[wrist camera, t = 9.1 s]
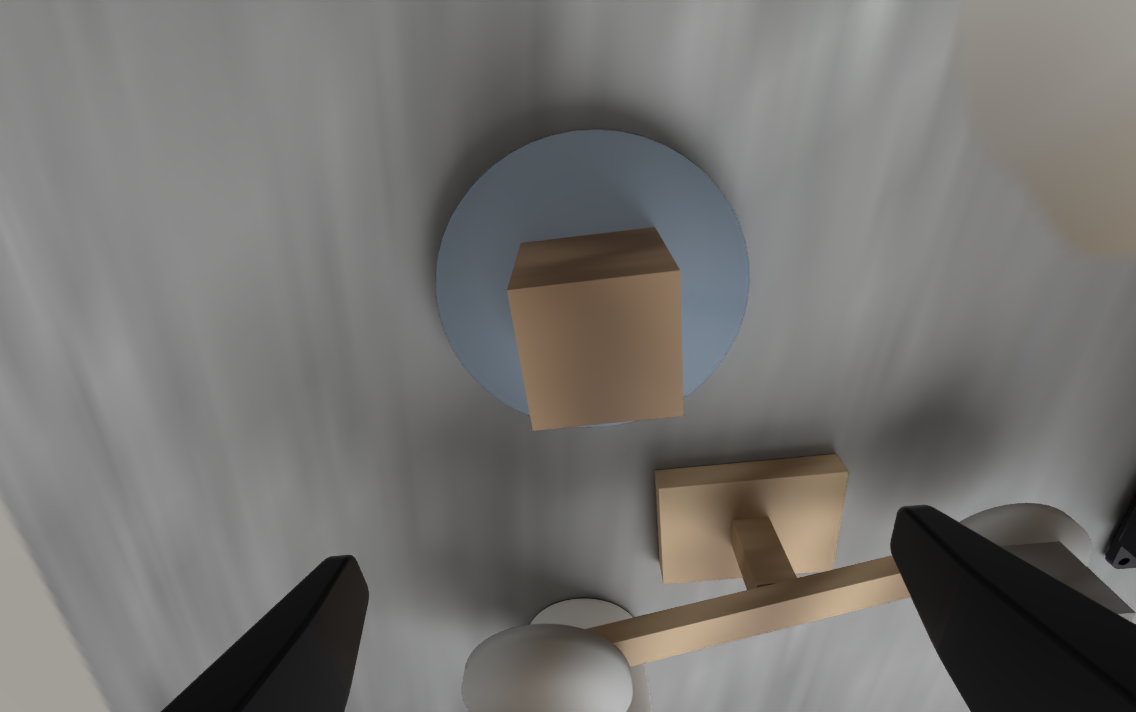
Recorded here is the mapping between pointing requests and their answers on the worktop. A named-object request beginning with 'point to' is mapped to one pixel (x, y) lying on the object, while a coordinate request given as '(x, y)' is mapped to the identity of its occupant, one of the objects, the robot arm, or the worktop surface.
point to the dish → (583, 207)
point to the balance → (767, 565)
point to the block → (598, 328)
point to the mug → (593, 615)
